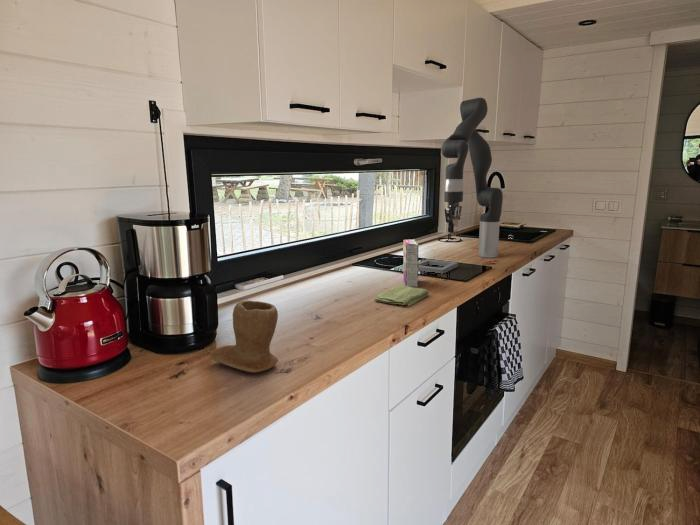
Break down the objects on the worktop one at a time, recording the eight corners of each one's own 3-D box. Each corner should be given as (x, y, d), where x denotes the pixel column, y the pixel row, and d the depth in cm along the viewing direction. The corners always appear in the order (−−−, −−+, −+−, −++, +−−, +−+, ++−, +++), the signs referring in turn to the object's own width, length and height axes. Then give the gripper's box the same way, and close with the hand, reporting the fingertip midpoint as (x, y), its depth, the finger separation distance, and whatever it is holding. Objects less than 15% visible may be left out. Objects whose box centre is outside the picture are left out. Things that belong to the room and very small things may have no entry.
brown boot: (290, 362, 113) (288, 301, 110) (253, 381, 104) (249, 314, 100) (246, 349, 122) (243, 291, 119) (208, 365, 112) (203, 303, 109)
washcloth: (372, 303, 161) (372, 293, 161) (398, 291, 175) (398, 283, 175) (406, 309, 154) (407, 299, 153) (431, 296, 168) (431, 287, 167)
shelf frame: (426, 263, 220) (426, 259, 220) (458, 266, 212) (458, 262, 212) (410, 270, 207) (410, 265, 206) (442, 274, 198) (442, 269, 198)
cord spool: (448, 231, 205) (449, 215, 203) (461, 232, 202) (462, 216, 200) (443, 233, 200) (444, 216, 198) (456, 234, 197) (457, 217, 196)
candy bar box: (402, 280, 190) (402, 239, 186) (415, 280, 190) (415, 239, 186) (405, 287, 179) (405, 244, 176) (418, 287, 179) (419, 243, 175)
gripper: (451, 189, 205) (450, 228, 208) (438, 191, 193) (437, 233, 197) (468, 189, 201) (467, 229, 205) (456, 191, 189) (455, 234, 193)
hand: (452, 231), depth 201 cm, fingers closed on cord spool, 4 cm apart
